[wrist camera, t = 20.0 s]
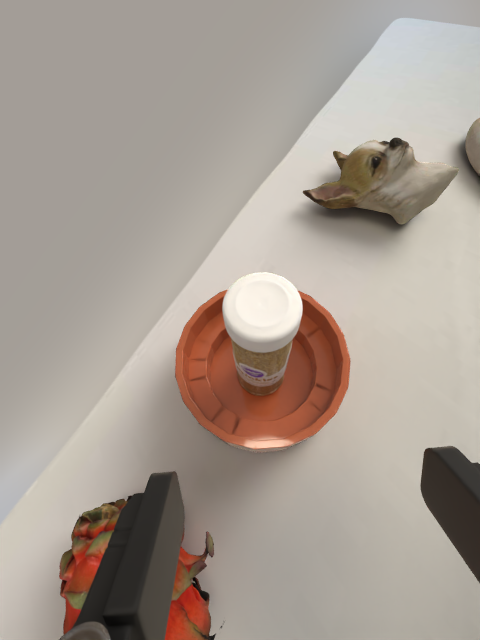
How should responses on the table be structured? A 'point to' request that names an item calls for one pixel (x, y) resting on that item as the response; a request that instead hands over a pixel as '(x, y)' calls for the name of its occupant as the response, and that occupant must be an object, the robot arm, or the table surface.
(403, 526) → the table surface
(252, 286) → the sprinkles bottle
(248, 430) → the bowl
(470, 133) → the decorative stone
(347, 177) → the ceramic sculpture
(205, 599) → the dragon fruit
